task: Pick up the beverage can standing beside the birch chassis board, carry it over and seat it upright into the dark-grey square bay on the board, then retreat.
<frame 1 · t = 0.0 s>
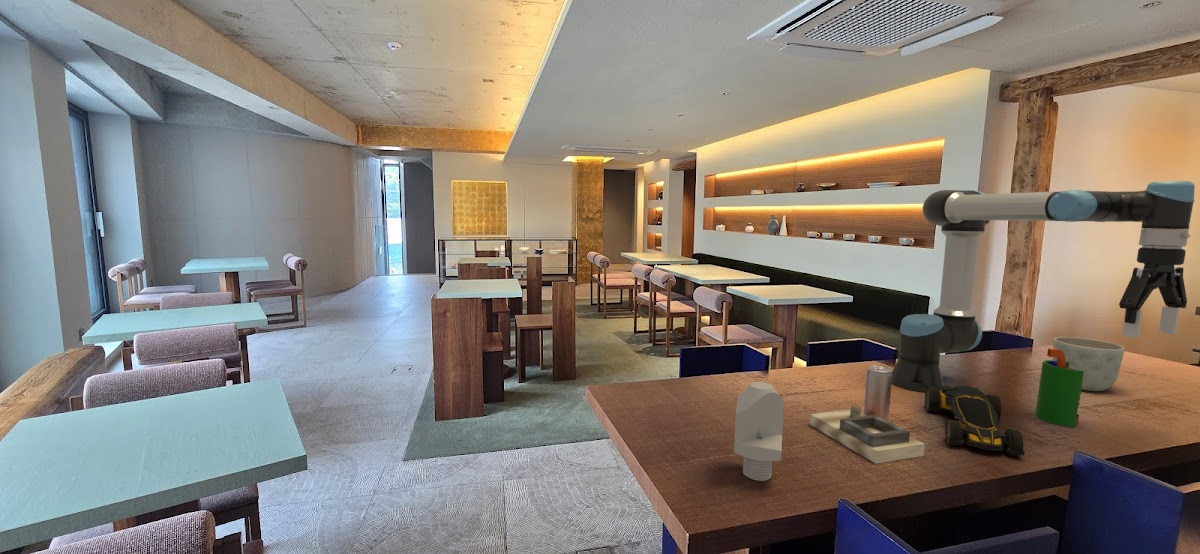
hand: (1148, 335, 121), 28 cm above the table, fingers open, 13 cm apart
planter: (1081, 387, 167), on the table
chassis board: (862, 439, 126), on the table
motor: (1056, 420, 139), on the table
toy car: (969, 432, 132), on the table
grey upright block: (756, 475, 108), on the table
beverage can: (875, 422, 137), on the table
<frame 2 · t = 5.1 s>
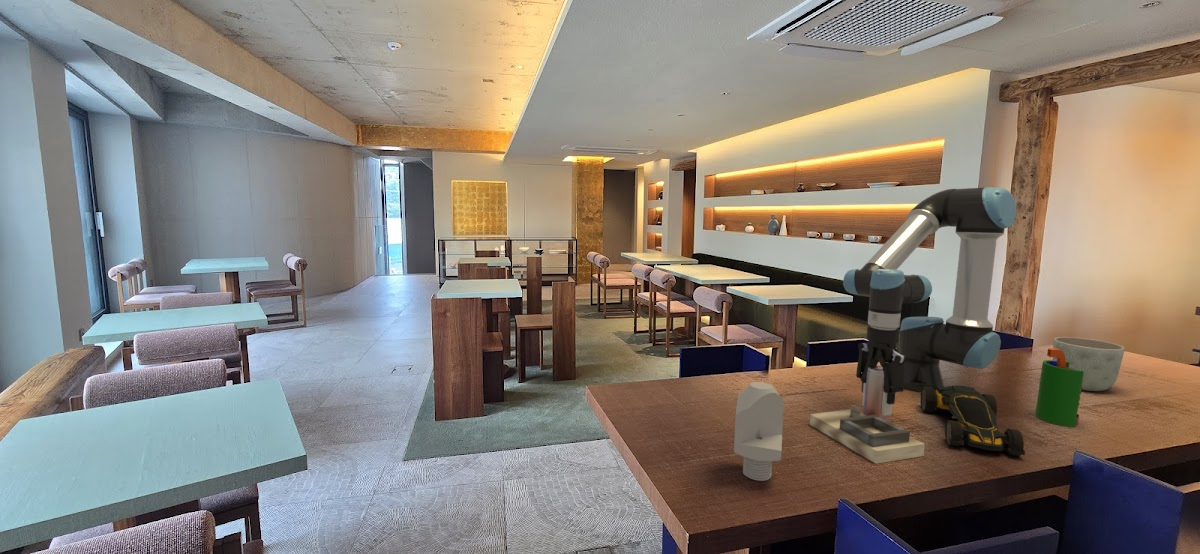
hand: (876, 409, 136), 3 cm above the table, fingers closed on beverage can, 6 cm apart
beverage can: (875, 422, 137), on the table, touching gripper
when the fingers open (8 cm above the table, at t = 9.7 s): beverage can drops 2 cm, resting on chassis board.
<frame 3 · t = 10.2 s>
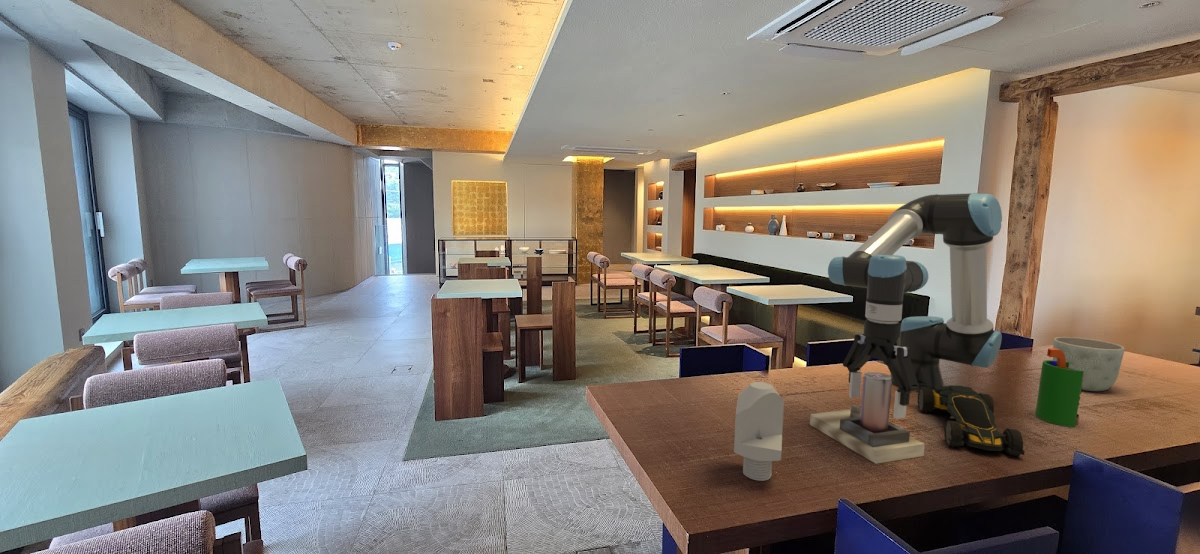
hand: (875, 407, 120), 10 cm above the table, fingers open, 13 cm apart
beverage can: (873, 435, 121), point 3 cm above the table, touching chassis board
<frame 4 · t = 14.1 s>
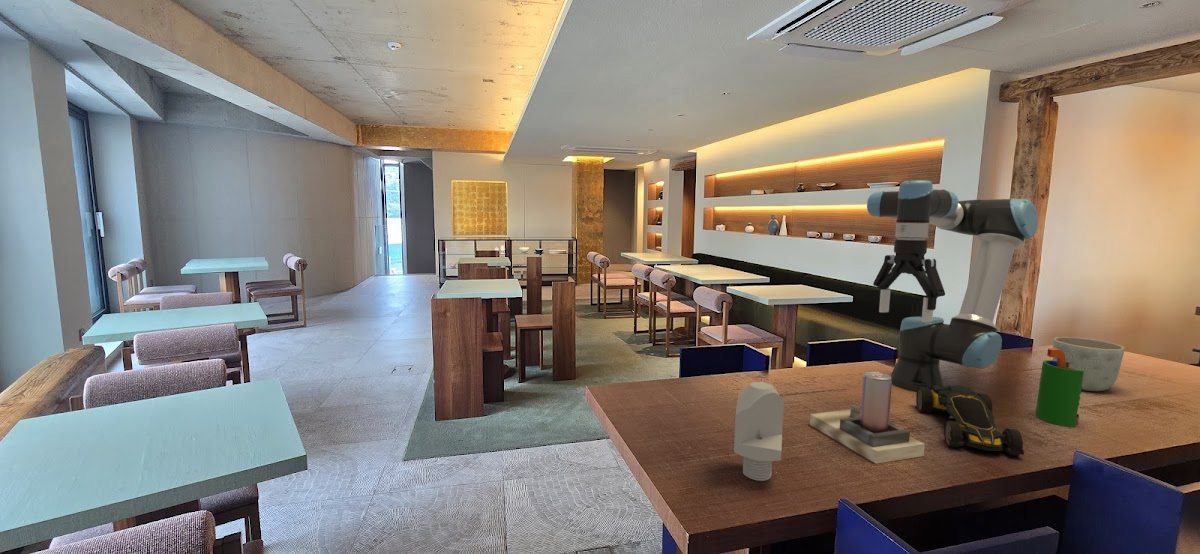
hand: (904, 316, 136), 29 cm above the table, fingers open, 13 cm apart
at the end: beverage can 0.0 cm from the target spot on the chassis board, point 2.8 cm above the chassis board's base; beverage can tilted 0°; the gripper is holding nothing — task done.
